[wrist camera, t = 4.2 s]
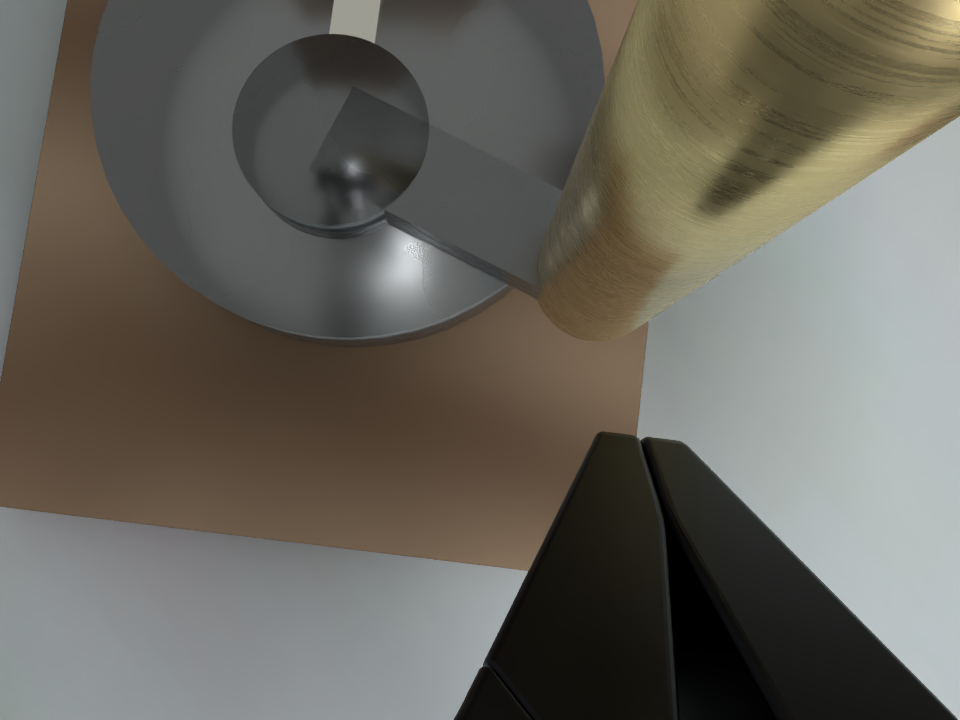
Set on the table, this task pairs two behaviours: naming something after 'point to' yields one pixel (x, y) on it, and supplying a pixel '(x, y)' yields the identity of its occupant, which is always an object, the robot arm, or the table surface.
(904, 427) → the table surface
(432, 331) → the cam capstan
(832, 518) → the table surface
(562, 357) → the level stand
